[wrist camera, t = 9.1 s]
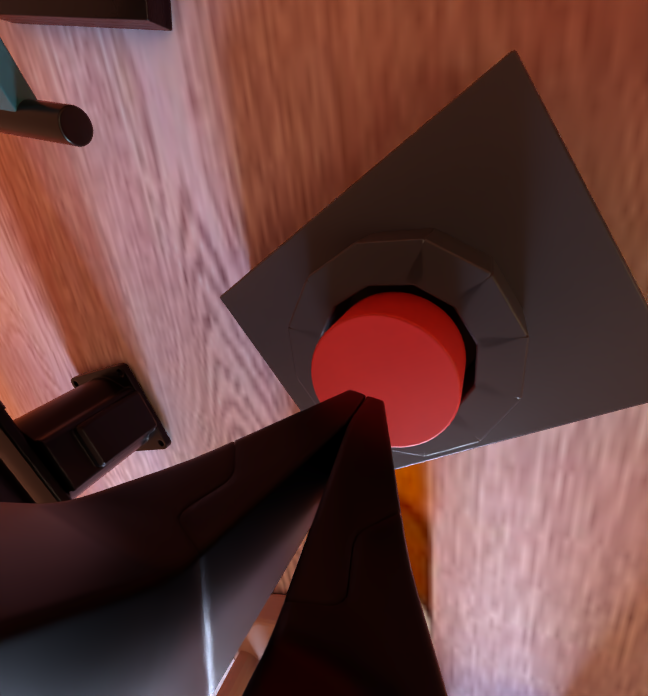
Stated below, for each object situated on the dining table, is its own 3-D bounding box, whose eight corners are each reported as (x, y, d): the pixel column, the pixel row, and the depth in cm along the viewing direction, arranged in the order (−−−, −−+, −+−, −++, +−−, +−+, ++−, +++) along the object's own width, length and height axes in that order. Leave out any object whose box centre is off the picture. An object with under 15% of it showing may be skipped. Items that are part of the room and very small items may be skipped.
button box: (367, 447, 18) (334, 517, 15) (252, 281, 17) (184, 313, 13) (658, 353, 12) (734, 437, 8) (510, 71, 10) (520, 16, 7)
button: (378, 425, 12) (361, 462, 11) (312, 329, 12) (284, 354, 10) (492, 383, 10) (493, 423, 9) (419, 263, 10) (404, 282, 8)
